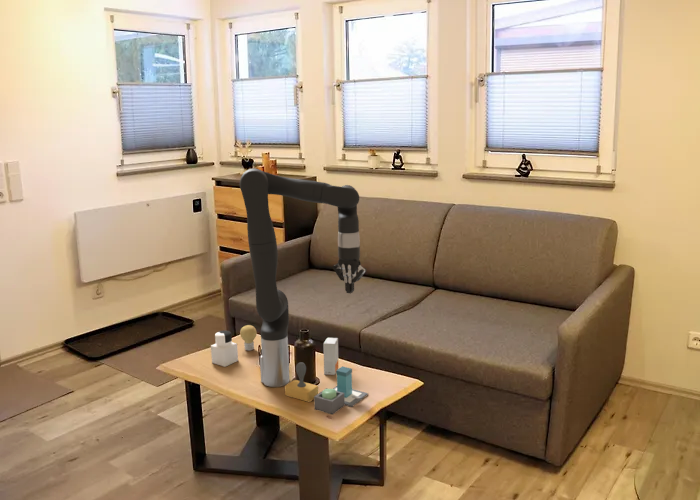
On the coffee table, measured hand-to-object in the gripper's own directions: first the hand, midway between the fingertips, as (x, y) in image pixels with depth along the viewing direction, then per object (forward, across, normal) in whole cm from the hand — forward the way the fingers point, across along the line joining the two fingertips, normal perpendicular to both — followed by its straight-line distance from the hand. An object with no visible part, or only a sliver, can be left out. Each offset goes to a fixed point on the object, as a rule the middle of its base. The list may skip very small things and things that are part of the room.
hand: (349, 292), depth 228 cm
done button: (+29, +7, -25) cm, 39 cm away
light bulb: (+31, -48, 0) cm, 57 cm away
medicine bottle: (+31, -48, -14) cm, 59 cm away
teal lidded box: (+30, +7, -15) cm, 35 cm away
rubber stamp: (+31, -6, -22) cm, 39 cm away
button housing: (+31, +7, -24) cm, 40 cm away
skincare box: (+31, -8, -1) cm, 32 cm away
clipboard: (+31, +7, -16) cm, 35 cm away
